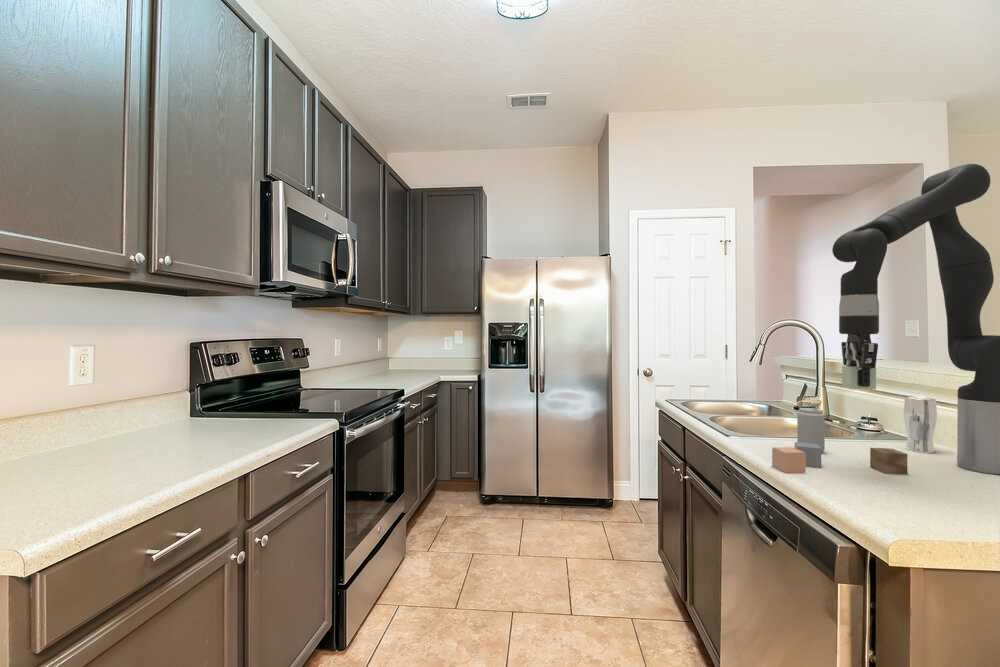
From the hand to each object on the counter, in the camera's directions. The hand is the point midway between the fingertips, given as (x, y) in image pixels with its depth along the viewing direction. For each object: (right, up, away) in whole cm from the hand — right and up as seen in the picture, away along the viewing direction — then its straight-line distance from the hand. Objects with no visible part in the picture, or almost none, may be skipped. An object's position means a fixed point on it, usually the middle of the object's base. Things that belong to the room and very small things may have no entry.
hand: (858, 384), depth 108 cm
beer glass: (+34, -21, +21) cm, 46 cm away
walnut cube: (+9, -21, +2) cm, 23 cm away
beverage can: (+3, -21, +20) cm, 30 cm away
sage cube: (0, -1, 0) cm, 1 cm away
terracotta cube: (-15, -21, +3) cm, 26 cm away
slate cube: (-7, -21, +8) cm, 24 cm away
